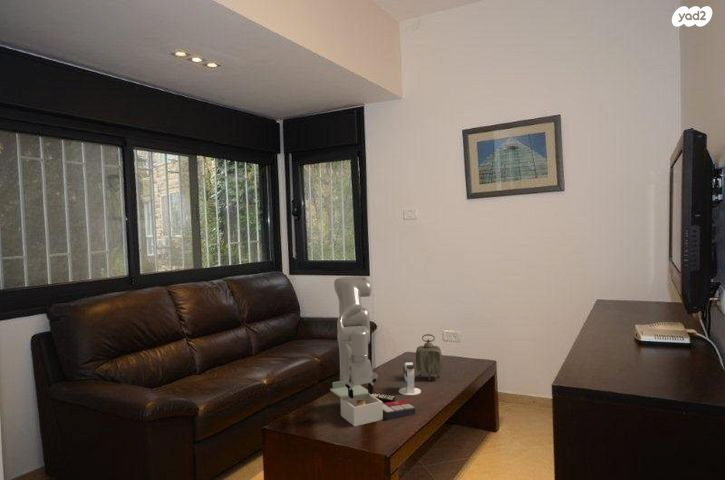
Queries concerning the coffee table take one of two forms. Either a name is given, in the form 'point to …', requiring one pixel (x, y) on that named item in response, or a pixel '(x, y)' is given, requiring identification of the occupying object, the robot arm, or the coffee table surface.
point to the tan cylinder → (361, 402)
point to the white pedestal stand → (409, 379)
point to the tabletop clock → (428, 359)
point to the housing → (362, 410)
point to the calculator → (397, 410)
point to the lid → (343, 390)
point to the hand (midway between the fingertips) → (360, 395)
